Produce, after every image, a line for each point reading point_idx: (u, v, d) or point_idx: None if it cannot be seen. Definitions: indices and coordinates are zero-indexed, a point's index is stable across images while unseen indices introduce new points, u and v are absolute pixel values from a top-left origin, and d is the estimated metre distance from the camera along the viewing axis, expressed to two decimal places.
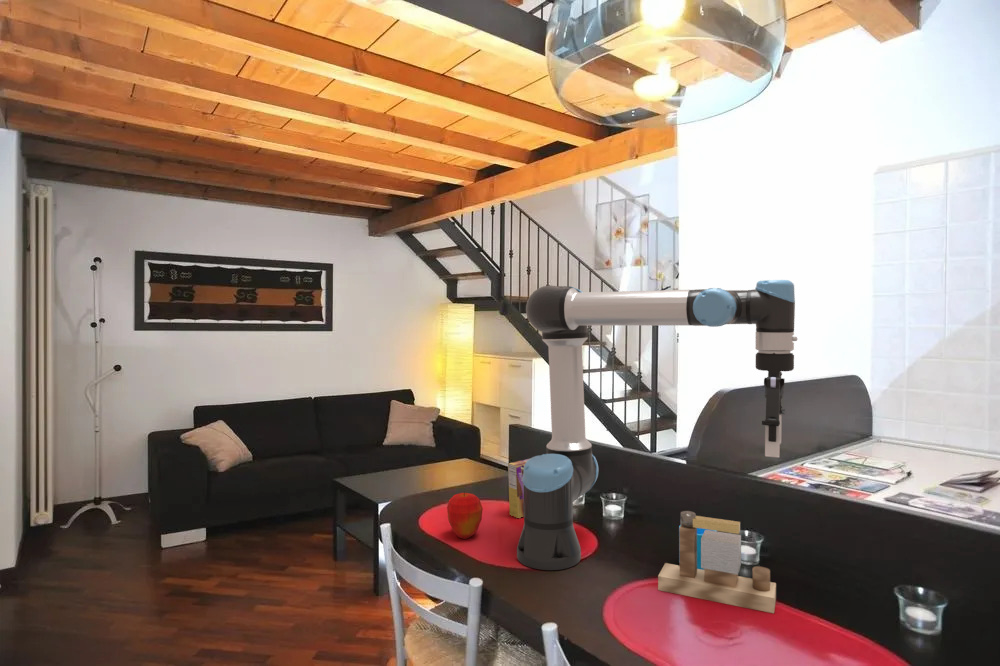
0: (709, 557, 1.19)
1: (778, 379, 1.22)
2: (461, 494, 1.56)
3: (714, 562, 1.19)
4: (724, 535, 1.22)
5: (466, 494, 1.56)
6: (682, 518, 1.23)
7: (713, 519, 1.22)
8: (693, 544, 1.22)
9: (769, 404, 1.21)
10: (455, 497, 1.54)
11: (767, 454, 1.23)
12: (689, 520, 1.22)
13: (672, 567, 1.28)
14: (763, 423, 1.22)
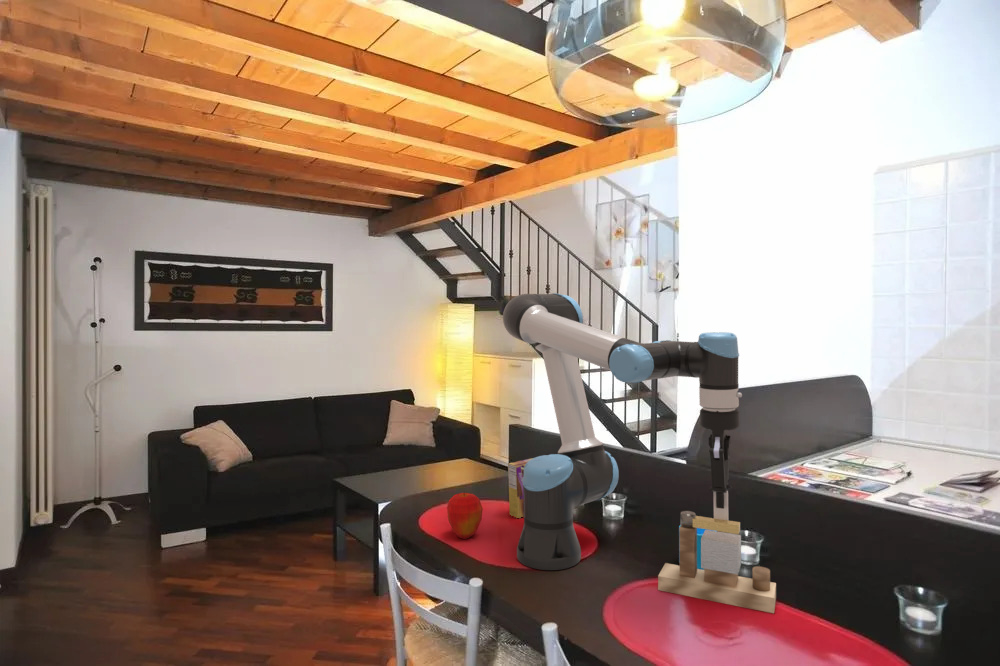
0: (709, 557, 1.19)
1: (721, 453, 1.15)
2: (461, 494, 1.56)
3: (714, 562, 1.19)
4: (724, 535, 1.22)
5: (466, 494, 1.56)
6: (682, 518, 1.23)
7: (713, 519, 1.22)
8: (693, 544, 1.22)
9: (714, 475, 1.18)
10: (455, 497, 1.54)
11: None
12: (689, 520, 1.22)
13: (672, 567, 1.28)
14: None
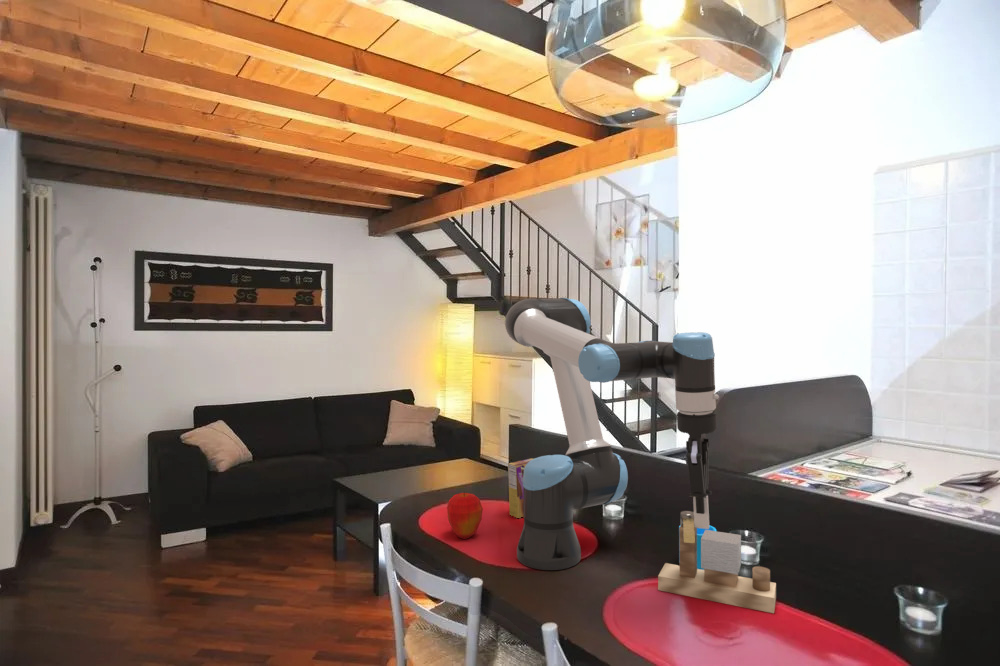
0: (709, 557, 1.19)
1: (699, 458, 1.12)
2: (461, 494, 1.56)
3: (714, 562, 1.19)
4: (724, 535, 1.22)
5: (466, 494, 1.56)
6: None
7: (689, 524, 1.19)
8: (693, 544, 1.22)
9: (693, 480, 1.14)
10: (455, 497, 1.54)
11: (696, 525, 1.19)
12: (681, 518, 1.24)
13: (672, 567, 1.28)
14: None
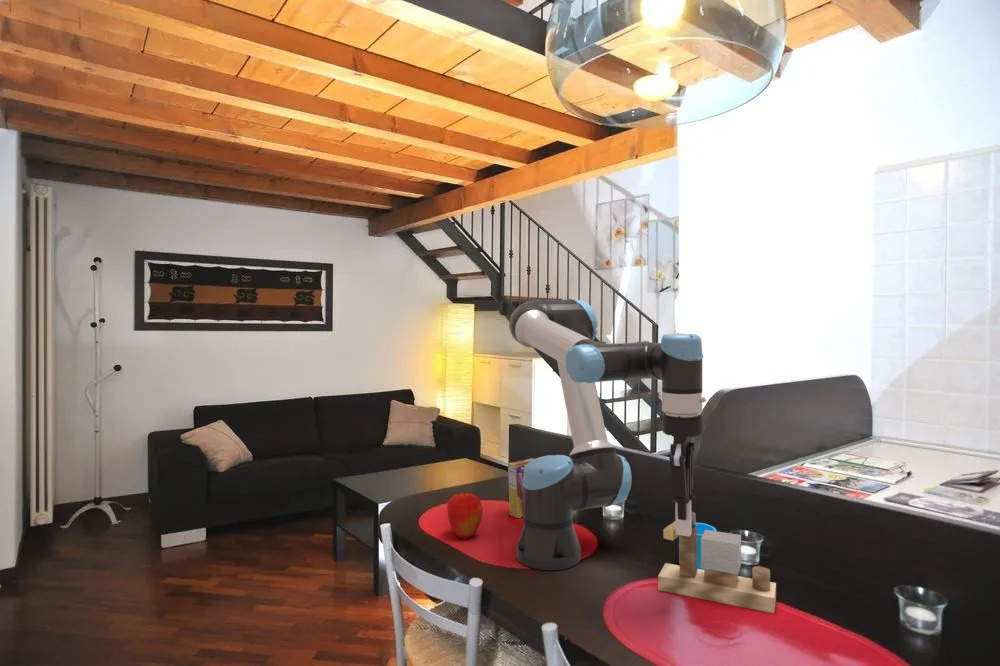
0: (709, 557, 1.19)
1: (681, 460, 1.09)
2: (461, 494, 1.56)
3: (714, 562, 1.19)
4: (724, 535, 1.22)
5: (466, 494, 1.56)
6: None
7: None
8: (693, 544, 1.22)
9: (675, 484, 1.12)
10: (455, 497, 1.54)
11: (678, 532, 1.15)
12: None
13: (672, 567, 1.28)
14: (672, 501, 1.15)
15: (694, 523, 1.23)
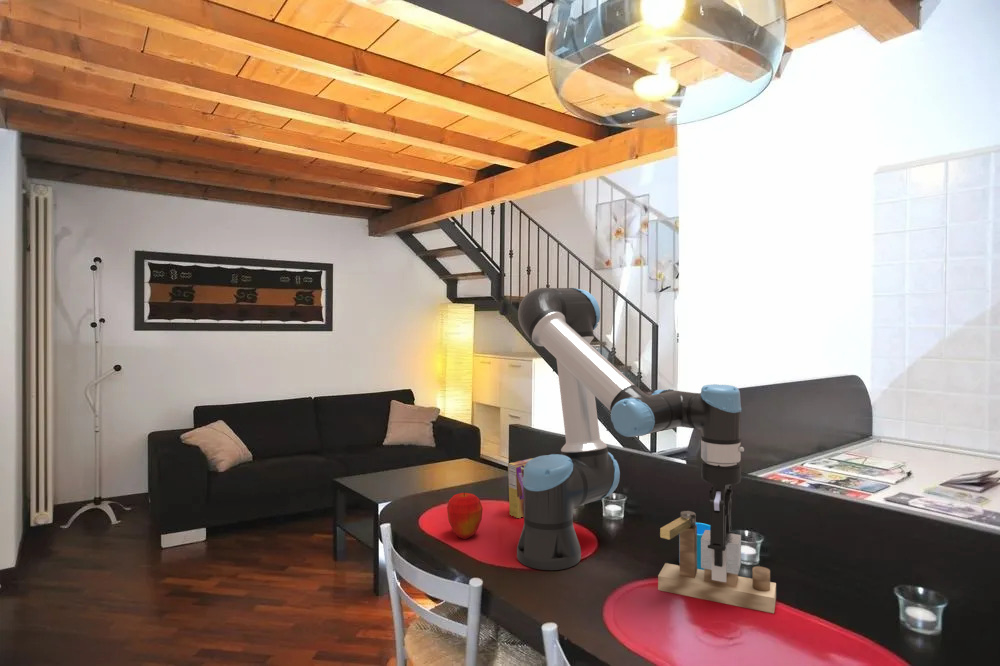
0: (709, 557, 1.19)
1: (721, 504, 1.14)
2: (461, 494, 1.56)
3: None
4: None
5: (466, 494, 1.56)
6: None
7: (678, 522, 1.20)
8: (693, 544, 1.22)
9: (713, 530, 1.15)
10: (455, 497, 1.54)
11: (714, 578, 1.19)
12: None
13: (672, 567, 1.28)
14: (709, 547, 1.18)
15: (694, 523, 1.23)
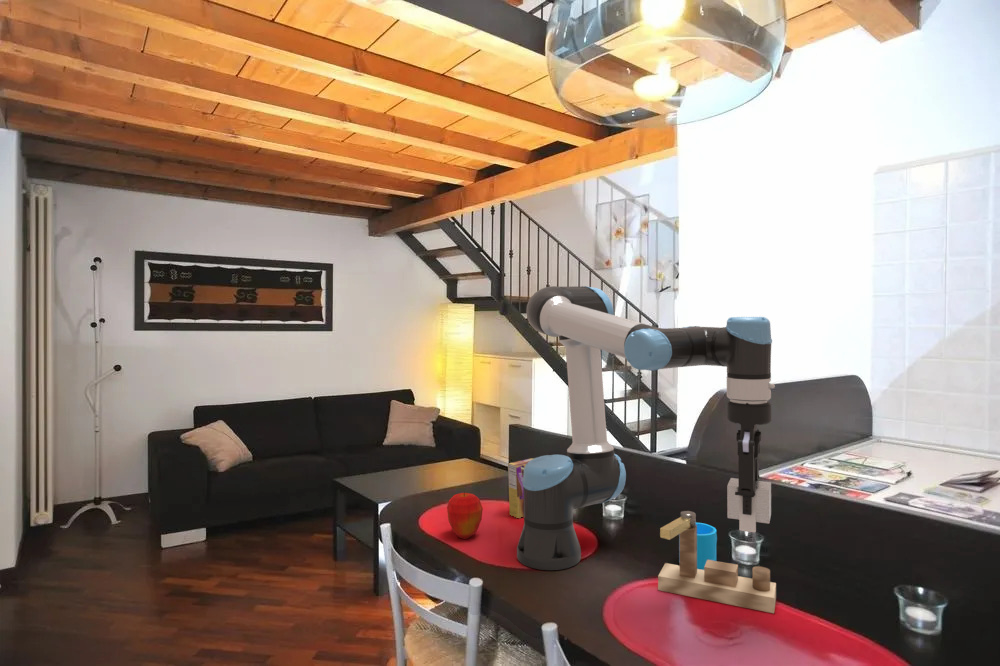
0: (737, 506, 1.08)
1: (751, 444, 1.03)
2: (461, 494, 1.56)
3: None
4: None
5: (466, 494, 1.56)
6: None
7: (678, 522, 1.20)
8: (693, 544, 1.22)
9: (742, 473, 1.04)
10: (455, 497, 1.54)
11: (742, 528, 1.07)
12: None
13: (672, 567, 1.28)
14: (736, 494, 1.06)
15: (694, 523, 1.23)
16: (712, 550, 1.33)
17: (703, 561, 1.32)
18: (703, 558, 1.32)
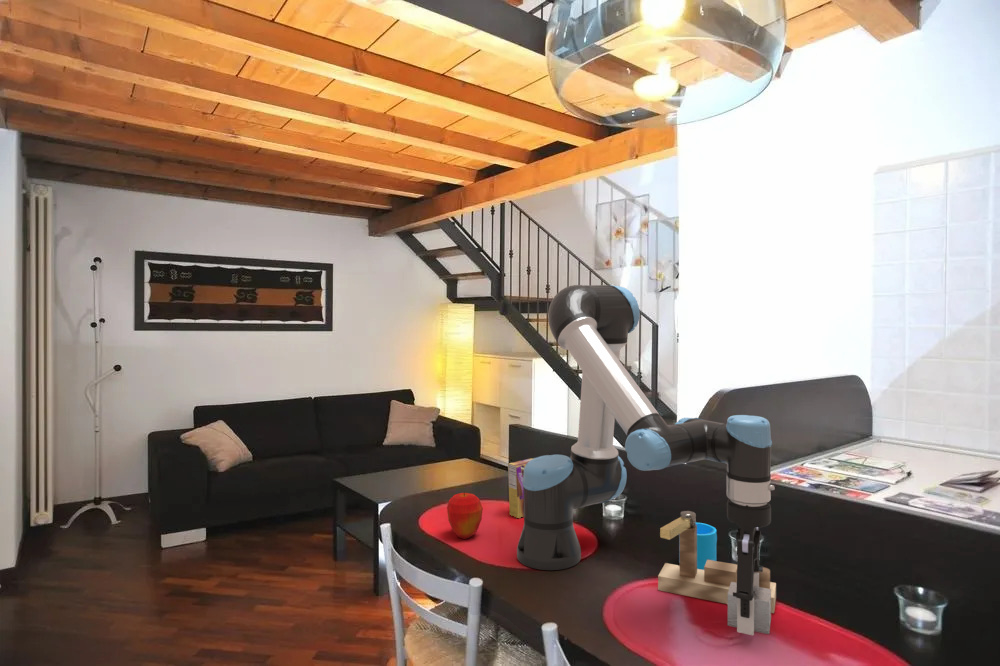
0: None
1: (751, 544, 1.03)
2: (461, 494, 1.56)
3: None
4: (753, 589, 1.11)
5: (466, 494, 1.56)
6: None
7: (678, 522, 1.20)
8: (693, 544, 1.22)
9: (740, 574, 1.03)
10: (455, 497, 1.54)
11: (739, 630, 1.05)
12: None
13: (672, 567, 1.28)
14: (734, 595, 1.04)
15: (694, 523, 1.23)
16: (712, 550, 1.33)
17: (703, 561, 1.32)
18: (703, 558, 1.32)
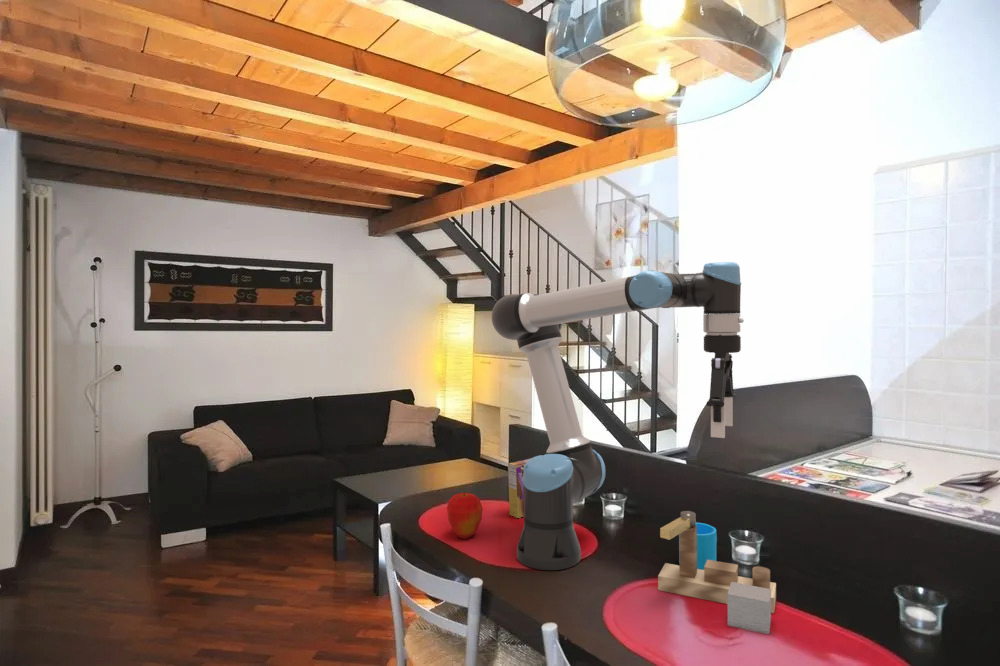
0: (737, 615, 1.09)
1: (722, 360, 1.23)
2: (461, 494, 1.56)
3: (743, 620, 1.08)
4: (753, 589, 1.11)
5: (466, 494, 1.56)
6: None
7: (678, 522, 1.20)
8: (693, 544, 1.22)
9: (713, 385, 1.22)
10: (455, 497, 1.54)
11: (713, 435, 1.24)
12: None
13: (672, 567, 1.28)
14: (708, 404, 1.23)
15: (694, 523, 1.23)
16: (712, 550, 1.33)
17: (703, 561, 1.32)
18: (703, 558, 1.32)
